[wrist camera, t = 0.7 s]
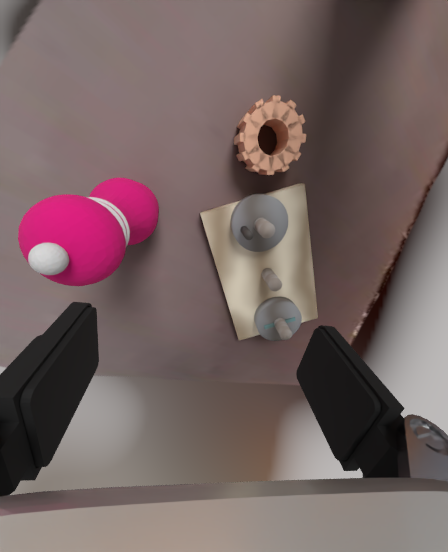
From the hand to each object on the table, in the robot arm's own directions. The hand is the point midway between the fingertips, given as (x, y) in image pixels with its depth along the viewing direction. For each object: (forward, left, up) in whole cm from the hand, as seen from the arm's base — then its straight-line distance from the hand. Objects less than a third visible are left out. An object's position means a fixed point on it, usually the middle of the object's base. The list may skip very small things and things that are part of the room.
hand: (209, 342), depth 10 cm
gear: (-10, -7, -24) cm, 27 cm away
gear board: (-7, +10, -24) cm, 27 cm away
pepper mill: (+8, -4, -24) cm, 26 cm away
